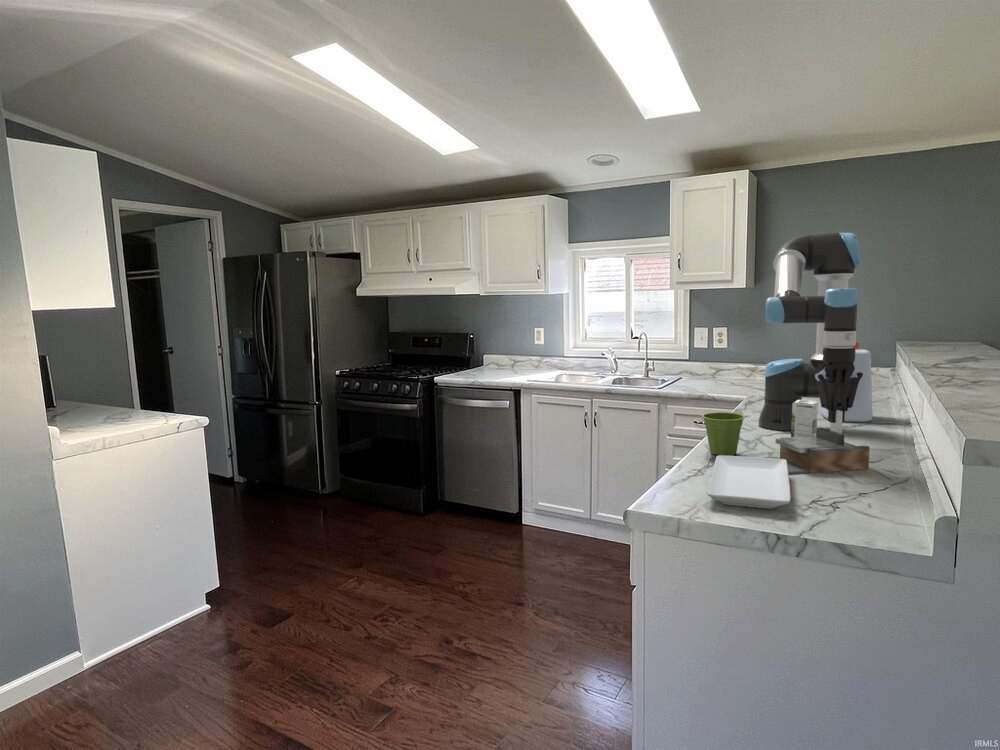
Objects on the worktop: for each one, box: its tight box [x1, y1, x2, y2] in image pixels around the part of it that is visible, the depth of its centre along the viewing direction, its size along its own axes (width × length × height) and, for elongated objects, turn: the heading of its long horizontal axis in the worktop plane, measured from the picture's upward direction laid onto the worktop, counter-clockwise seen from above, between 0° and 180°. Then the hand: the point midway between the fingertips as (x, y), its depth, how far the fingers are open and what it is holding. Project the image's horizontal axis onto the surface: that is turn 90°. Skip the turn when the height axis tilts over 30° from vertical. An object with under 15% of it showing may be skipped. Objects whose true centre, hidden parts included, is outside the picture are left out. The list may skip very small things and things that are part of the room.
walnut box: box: [779, 436, 870, 474], centre depth 161 cm, size 16×14×6 cm
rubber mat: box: [764, 456, 808, 475], centre depth 160 cm, size 16×14×1 cm
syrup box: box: [790, 399, 819, 437], centre depth 176 cm, size 6×6×14 cm
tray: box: [706, 455, 792, 510], centre depth 142 cm, size 17×32×4 cm, turn 156°
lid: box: [775, 427, 847, 453], centre depth 161 cm, size 13×11×4 cm
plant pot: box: [701, 411, 746, 456], centre depth 174 cm, size 12×12×11 cm
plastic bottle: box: [820, 340, 874, 423], centre depth 216 cm, size 15×15×28 cm
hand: (835, 434), depth 161 cm, fingers closed
